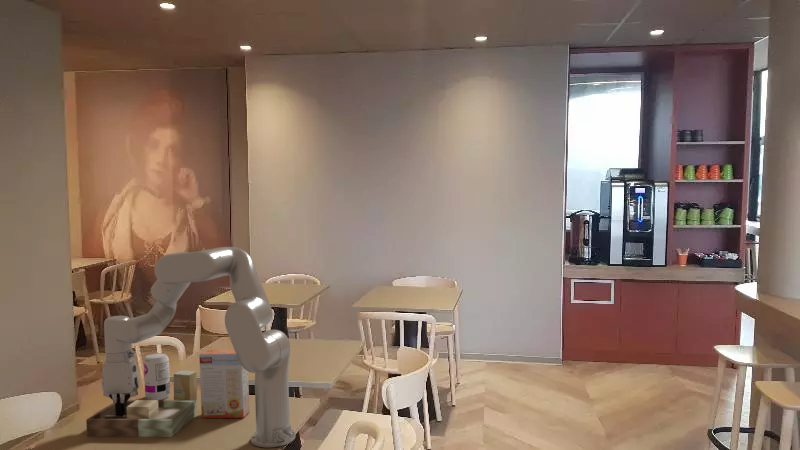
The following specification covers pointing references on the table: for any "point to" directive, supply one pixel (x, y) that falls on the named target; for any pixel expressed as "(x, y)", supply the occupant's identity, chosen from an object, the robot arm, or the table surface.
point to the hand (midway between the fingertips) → (121, 414)
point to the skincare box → (185, 386)
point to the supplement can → (156, 376)
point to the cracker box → (223, 385)
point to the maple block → (142, 409)
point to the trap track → (142, 421)
